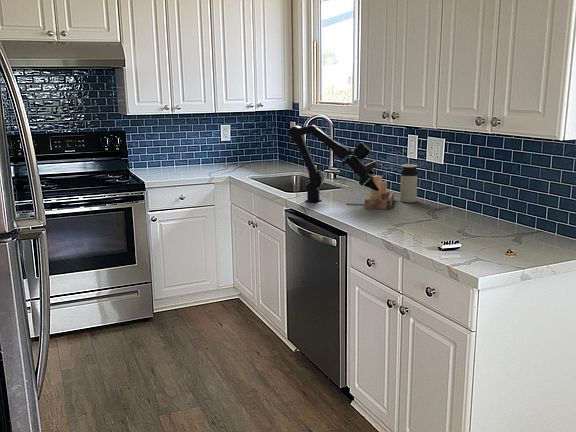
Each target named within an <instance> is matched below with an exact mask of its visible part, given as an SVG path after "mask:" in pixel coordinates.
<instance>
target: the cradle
mask: <svg viewBox="0 0 576 432" xmlns="http://www.w3.org/2000/svg"><path fill="white" fill-rule="evenodd" d="M394 196H395V191H387V194H382V200H373V199H370V198H369V199H367V198H365V199H364V200H365V205H364V209H379V210H380V209H381V210H384V209H385V210H390V209H391V207H392V204H393V202H394V199H395V197H394Z"/></svg>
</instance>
